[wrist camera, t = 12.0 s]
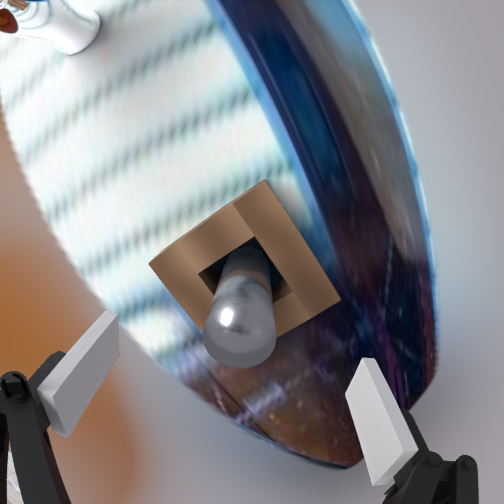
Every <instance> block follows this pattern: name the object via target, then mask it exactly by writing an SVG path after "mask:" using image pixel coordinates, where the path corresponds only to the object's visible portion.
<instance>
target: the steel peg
mask: <svg viewBox="0 0 504 504" xmlns="http://www.w3.org/2000/svg"><path fill="white" fill-rule="evenodd" d="M203 342H204V346H205V348H206V350H207V351H208V353H209V354H210V355H211V356H212V357H213V358H214V359H215V360H217V361H218V362H220V363H222V364H224V365H227V366H230V367H235V368H247V367H252V366H255V365H257V364H260V363H261V362H263V361H264V360H266V359H267V358H268V357H269V356H270V355H271V353H272V352H273V350H274V347H275V344H276V331H275V320H274V310H273V300H272V290H271V280H270V271H269V263H268V260H267V258H266V257H265V255H264V254H263V253H262V252H260V251H259V250H257V249H255V248H251V247H242V248H239V249H236V250H235V251H233V252H232V253H231V254H230V255H229V256H228V258H227V260H226V262H225V265H224V268H223V271H222V274H221V277H220V280H219V283H218V286H217V289H216V292H215V295H214V298H213V301H212V304H211V308H210V311H209V314H208V317H207V320H206V323H205V326H204V329H203Z"/></svg>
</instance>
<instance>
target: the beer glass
mask: <svg viewBox="0 0 504 504" xmlns="http://www.w3.org/2000/svg"><path fill="white" fill-rule="evenodd" d="M99 28H100V18H99V16H98V14H97V13H95V12H93V11H91V10H88V9H86V8H84V7H82V6H80V5H79V4H78V3H77V1H76V0H0V32H3V33H5V34H9V35H12V36H15V37H20V38H26V39H33V40H40V41H45V42H48V43H50V44H52V45H54V46H55V47H56V48H57V49H58V50H59V51H60V52H62V53H63V54H66V55H72V54H76V53H78V52H80V51H82V50H83V49H85V48H86V47H87V46H88V45H89V44H90V43H91V42H92V41H93V40H94V38H95V37H96V35H97V33H98V31H99Z"/></svg>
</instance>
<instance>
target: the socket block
mask: <svg viewBox="0 0 504 504" xmlns="http://www.w3.org/2000/svg"><path fill="white" fill-rule="evenodd" d="M254 236H255V237H256V239H257V240H258V241H259V243H260V244H261V246H262V247H263V249H264V250H265V252H266V253H267V255H268V256H269V257H270V259H271V260H272V262H273V263H274V265H275V266H276V268H277V269H278V271H279V272H280V273H281V275H282V276H283V278H284V279H283V280H281V281H279V282H278V283H276V284H275V285H273V286H271V290H272V300H273V310H274V320H275V331H276V338H277V337H279V336H281V335H283V334H284V333H286V332H288V331H290V330H291V329H293V328H295V327H297V326H298V325H300V324H302V323H304V322H305V321H307V320H309V319H310V318H312V317H314V316H315V315H317V314H319V313H320V312H322V311H324V310H325V309H327V308H329V307H330V306H332V305H334V304H335V303H337V302H338V301H340V300H341V299H340V297H339V295H338V293H337V292H336V290H335V288H334V287H333V285H332V283H331V282H330V280H329V278H328V277H327V275H326V274H325V272H324V270H323V269H322V267H321V265H320V264H319V262H318V261H317V259H316V257H315V256H314V254H313V253H312V251H311V249H310V248H309V246H308V245H307V243H306V241H305V240H304V238H303V237H302V235H301V234H300V232H299V231H298V229H297V227H296V226H295V224H294V223H293V221H292V220H291V218H290V217H289V215H288V214H287V212H286V211H285V209H284V207H283V206H282V204H281V203H280V201H279V200H278V198H277V197H276V195H275V194H274V192H273V191H272V189H271V188H270V186H269V185H268V184H267V182H266V181H265V179H264V180H263V181H261V182H260V183H258V184H257V185H255V186H254V187H252V188H251V189H249V190H248V191H246V192H245V193H243V194H242V195H240V196H239V197H237V198H236V199H234V200H233V201H231V202H230V203H229V204H227V205H226V206H224V207H223V208H221V209H220V210H218V211H217V212H216V213H214V214H213V215H211V216H210V217H208V218H207V219H206V220H204V221H203V222H201V223H200V224H198V225H197V226H196V227H194V228H193V229H191V230H190V231H189V232H187V233H186V234H184V235H183V236H182V237H180V238H179V239H178V240H176V241H175V242H173V243H172V244H171V245H169V246H168V247H167V248H165V249H164V250H163V251H161V252H160V253H159V254H158V255H157V256H156V257H155V258H154V259H153V260H151V261H150V262H149V263H148V264H149V265H150V267H151V268H152V269H153V271H154V272H155V273H156V275H157V276H158V277H159V279H160V280H161V281H162V283H163V284H164V285H165V286H166V288H167V289H168V290H169V292H170V293H171V294H172V295H173V297H174V298H175V299H176V300H177V302H178V303H179V304H180V305H181V307H182V308H183V309H184V310H185V312H186V313H187V314H188V315H189V316H190V318H191V319H192V320H193V321H194V323H195V324H196V325H197V326H198V327H199V329H200V330H201V331H202V332H203V329H204V326H205V323H206V320H207V317H208V314H209V311H210V308H211V304H212V301H213V298H214V295H215V292H216V289H217V286H218V283H219V280H220V279H219V278H218V277H217V275H216V274H215V273H214V271H213V270H212V269H211V267H210V265H211V264H213V263H214V262H216V261H217V260H219V259H220V258H222V257H223V256H225V255H227V254H228V253H230V252H231V251H233V250H234V249H236V248H237V247H239V246H240V245H242V244H243V243H245V242H246V241H248V240H249V239H251V238H252V237H254Z"/></svg>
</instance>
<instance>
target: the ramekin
mask: <svg viewBox="0 0 504 504" xmlns="http://www.w3.org/2000/svg"><path fill="white" fill-rule="evenodd" d="M7 482H8V483H9V484H10V485H11V486H12V487H13V488H14V489H15V490H17V491H18V492H19V493H20V494H21V492H20V488H19V484H18V480H17V476H16V474H12V475H11V476H10V477H9V478H8V479H7Z"/></svg>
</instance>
